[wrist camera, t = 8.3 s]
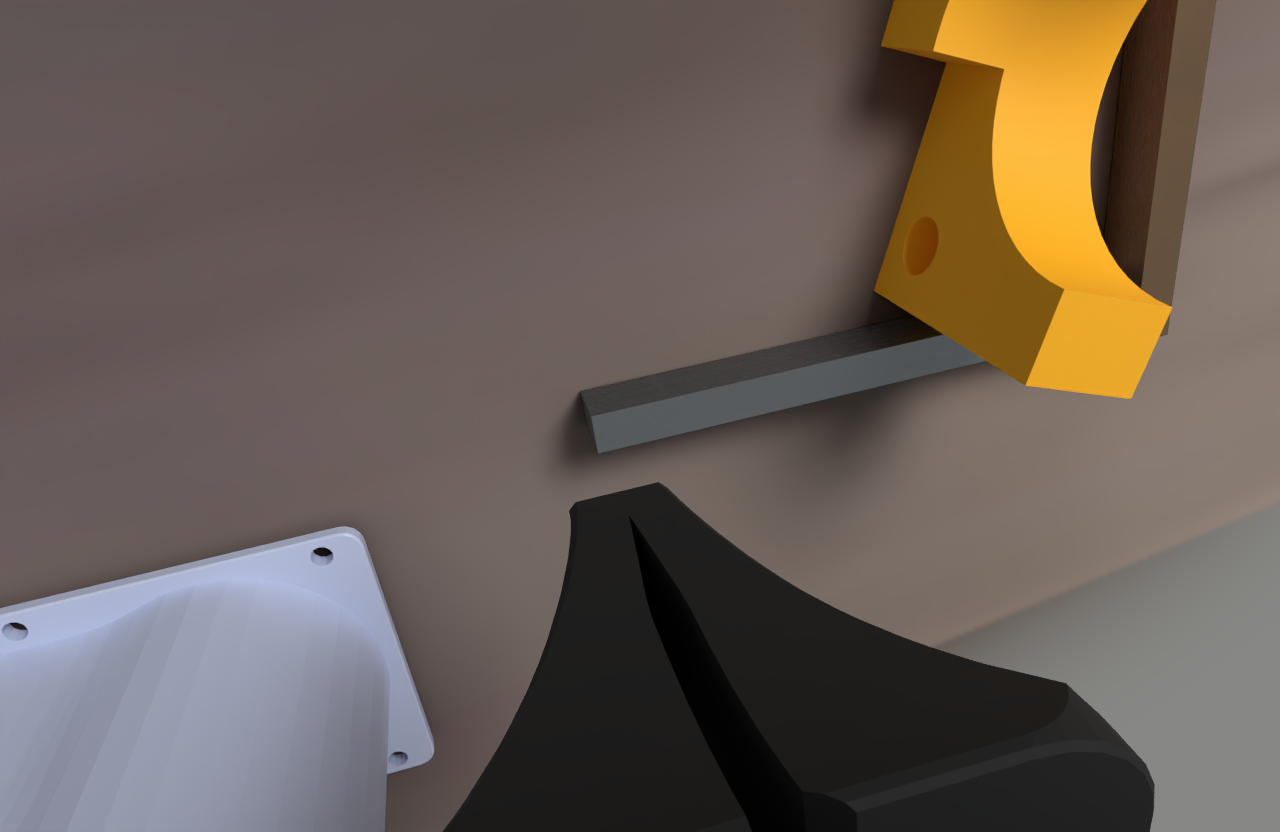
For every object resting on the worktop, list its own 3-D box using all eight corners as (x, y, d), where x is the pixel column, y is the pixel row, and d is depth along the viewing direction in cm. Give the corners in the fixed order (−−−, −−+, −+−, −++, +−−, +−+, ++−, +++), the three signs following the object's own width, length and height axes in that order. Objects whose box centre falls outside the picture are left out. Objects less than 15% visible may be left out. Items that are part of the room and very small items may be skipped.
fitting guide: (590, 443, 22) (601, 471, 21) (422, -438, 15) (423, -482, 13) (1126, 317, 24) (1167, 334, 23) (1227, -508, 17) (1296, -552, 15)
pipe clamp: (976, -297, 17) (1248, -443, 12) (1145, -230, 19) (1465, -332, 13) (809, 279, 22) (948, 375, 16) (955, 301, 23) (1130, 399, 18)
